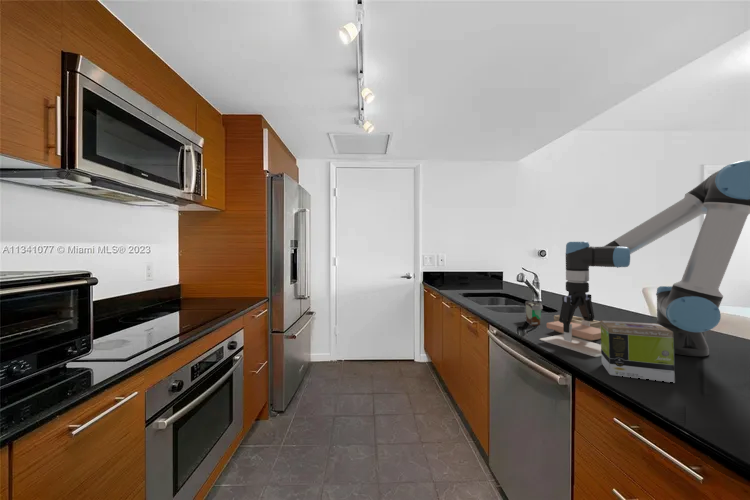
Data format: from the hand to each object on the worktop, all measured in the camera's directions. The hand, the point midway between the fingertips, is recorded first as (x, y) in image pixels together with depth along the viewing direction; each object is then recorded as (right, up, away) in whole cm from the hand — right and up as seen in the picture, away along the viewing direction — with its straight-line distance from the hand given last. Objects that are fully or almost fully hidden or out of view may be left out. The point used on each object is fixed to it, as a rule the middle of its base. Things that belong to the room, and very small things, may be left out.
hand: (577, 338), depth 119 cm
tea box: (0, -3, -26) cm, 26 cm away
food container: (+1, -2, +33) cm, 33 cm away
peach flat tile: (0, +2, 0) cm, 2 cm away
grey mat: (0, -2, 0) cm, 2 cm away
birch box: (+9, -2, +14) cm, 16 cm away
